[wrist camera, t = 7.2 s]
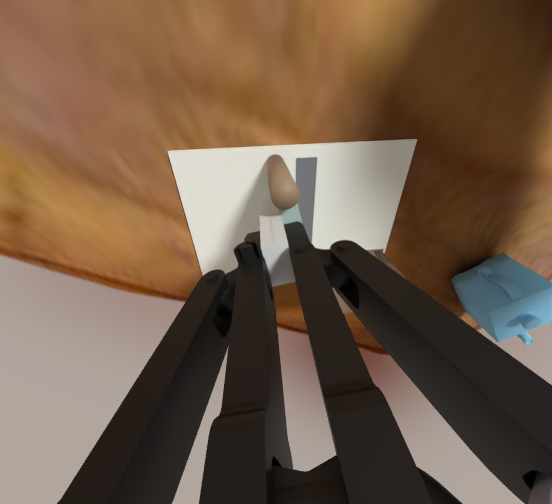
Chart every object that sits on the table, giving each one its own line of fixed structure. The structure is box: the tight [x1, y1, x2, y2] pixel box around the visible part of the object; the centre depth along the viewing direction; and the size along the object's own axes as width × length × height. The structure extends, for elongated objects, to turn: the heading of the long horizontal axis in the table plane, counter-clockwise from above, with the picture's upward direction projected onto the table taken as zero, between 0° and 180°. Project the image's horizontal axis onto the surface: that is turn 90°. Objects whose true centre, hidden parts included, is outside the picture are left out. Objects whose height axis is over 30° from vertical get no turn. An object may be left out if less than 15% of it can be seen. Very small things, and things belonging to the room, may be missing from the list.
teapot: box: [450, 253, 552, 346], centre depth 26 cm, size 12×6×8 cm, turn 38°
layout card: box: [168, 139, 417, 275], centre depth 23 cm, size 21×15×1 cm
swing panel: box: [266, 154, 303, 225], centre depth 18 cm, size 10×2×8 cm, turn 17°
